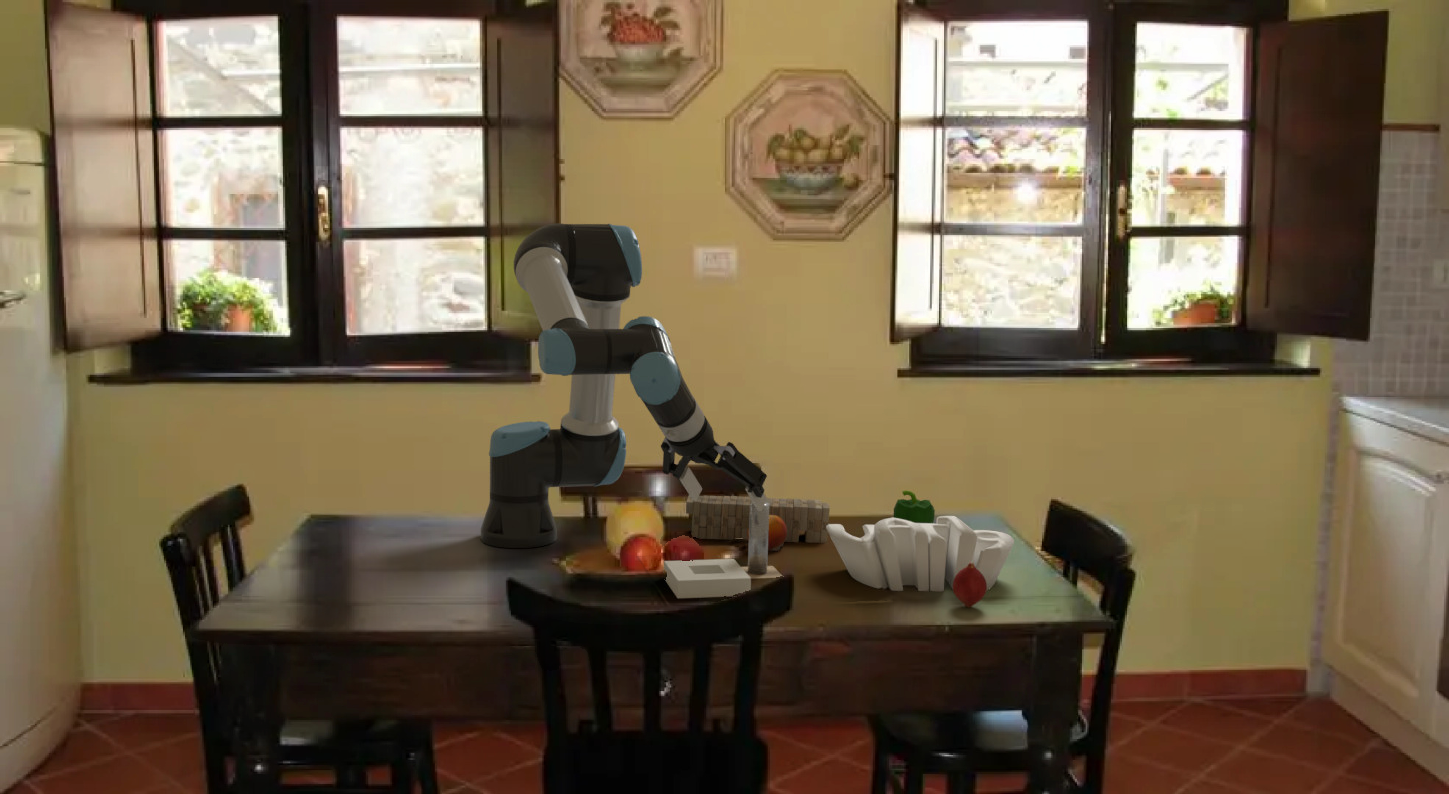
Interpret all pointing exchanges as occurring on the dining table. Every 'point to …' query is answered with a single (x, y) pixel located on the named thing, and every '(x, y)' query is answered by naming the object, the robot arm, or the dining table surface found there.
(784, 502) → the block tower
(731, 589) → the slot block
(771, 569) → the coaster
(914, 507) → the bell pepper
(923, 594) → the dining table surface
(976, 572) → the onion
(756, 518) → the pin
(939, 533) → the white wavy slab sculpture
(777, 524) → the fruit
